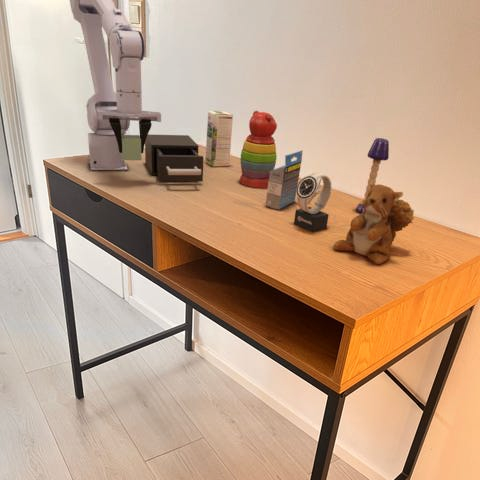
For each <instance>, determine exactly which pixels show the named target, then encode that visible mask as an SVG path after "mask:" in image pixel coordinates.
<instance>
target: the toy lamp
mask: <svg viewBox="0 0 480 480" xmlns="http://www.w3.org/2000/svg"><path fill="white" fill-rule="evenodd" d="M389 152H390V141H389V140H388V139H386V138H380V137H375V138H374V140H373V143H372V145H371V146H370V148H369V150H368V153H367V157H368V158H369V159H371V160H372V165H371V167H370V172H369V178H368V180H367V185H366V188H365V191H364V198H363V200H366V197H367V195H368V193H369V191H370V183H371V182H374V183H375V184H377V183H376V182H377V177H378V172H379V170H380V165H381V161H388V160H389V156H390V155H389V154H390V153H389ZM363 200H362V201H363ZM363 203H364V201H363V202H361V203H360V204H359V203H358V204H359V206H357V205H356V208H355V211H356V212H357V213H359V214H360V215H361V214H362V212H363V211H364V210H366V209H365V204H364V205H363V206H362V204H363ZM361 206H362V208H361ZM360 208H361V210H359V209H360Z"/></svg>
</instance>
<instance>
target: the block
mask: <svg viewBox="0 0 480 480" xmlns="http://www.w3.org/2000/svg"><path fill="white" fill-rule="evenodd" d="M121 141H122V153H121V156H122V159H123V160H125V161H142V153H141V138H140V134H124V135H121Z"/></svg>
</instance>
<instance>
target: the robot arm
mask: <svg viewBox="0 0 480 480" xmlns="http://www.w3.org/2000/svg"><path fill="white" fill-rule="evenodd" d="M69 4H70V10H71V13H72V17H73V20H75V21H77V22H78V23H79V25H80V27H81V31H82V35H83V39H84V44H85V50H86V55H87V60H88V65H89V71H90V75H91V81H92V85H93V90H94V94H92V95H91V96H90V97H88V100H87V102H86V105H85V107H86V118H87V119H86V120H87V124H88V127H89V129H90V130H91V131H92V132H87V140H88V141H87V143H88V155H87V157H88V158H87V159H88V162H89V166H90V170H91V171H128V166H127V163H126V160H123V159H122V156H121V153H122V141H121V135H127V133H126V132H127V131H128V130H129V128H130V125H131V121H133V122H134V121H137V122H138V129H139V136H140V138H141V154H144V151H145V141H146V138H147V135H148V134H149V133H150V130H151V129H152V127H153V126H152V124H153V123H152V122H156V123H162V113H161V112H160V111H149V110H143V99H142V98H143V95H142V61H143V60H144V58H145V55H146V41H145V37H144V35H143V32H142V31H141V30H136V29H133V27H132V25H131V24H130V22H129V20H128V18H127V17H126V14H125V13H124V11H122V9H120V8H116V5H115V0H69ZM103 31H104V32H105V33H104V32H103ZM103 33H104V34H105V35H106V37H107V38H108V40H109V50H110V54H111V55H110V56H111V58H112V60H111V61H112V67H113V68H114V74H115V75H114V76H115V90H114V85H113V79H112V75H111V69H110V65H109V59H108V53H107V47H106V44H105V37H104V34H103Z"/></svg>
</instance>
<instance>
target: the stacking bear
mask: <svg viewBox="0 0 480 480" xmlns="http://www.w3.org/2000/svg"><path fill="white" fill-rule="evenodd" d="M248 127H249V132H250V134H248V135H247V137H246V138H245V140H244V141H243V145H242V149H241V153H240V169H241V175H240V177H239V183H240V184H241V185H244V186H246V187H250V188H261V189H263V188H264V189H268V183H269V175H270V171H271V170H274V169H276V163H277V146H276V143H275V141H276V140H275V138H274V137H273V135H274V134H275V132H276V131H277V128H278V123H277V122H276V120H275V118H274V117H273V115H272V114H271V113H269V112H265V111H258V110H254V111H253V113H252V116H251V117H250V119H249V124H248Z"/></svg>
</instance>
